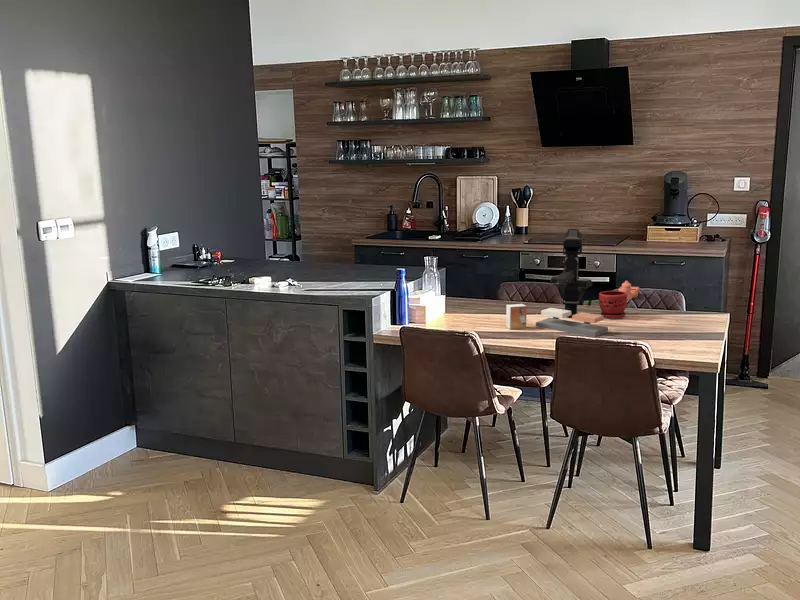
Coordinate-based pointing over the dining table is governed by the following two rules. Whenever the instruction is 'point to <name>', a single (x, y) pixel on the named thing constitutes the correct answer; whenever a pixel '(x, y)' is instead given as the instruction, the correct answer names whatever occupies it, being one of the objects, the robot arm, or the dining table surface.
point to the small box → (516, 316)
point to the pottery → (629, 290)
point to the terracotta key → (587, 317)
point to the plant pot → (613, 304)
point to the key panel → (572, 327)
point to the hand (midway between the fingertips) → (570, 299)
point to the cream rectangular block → (556, 313)
